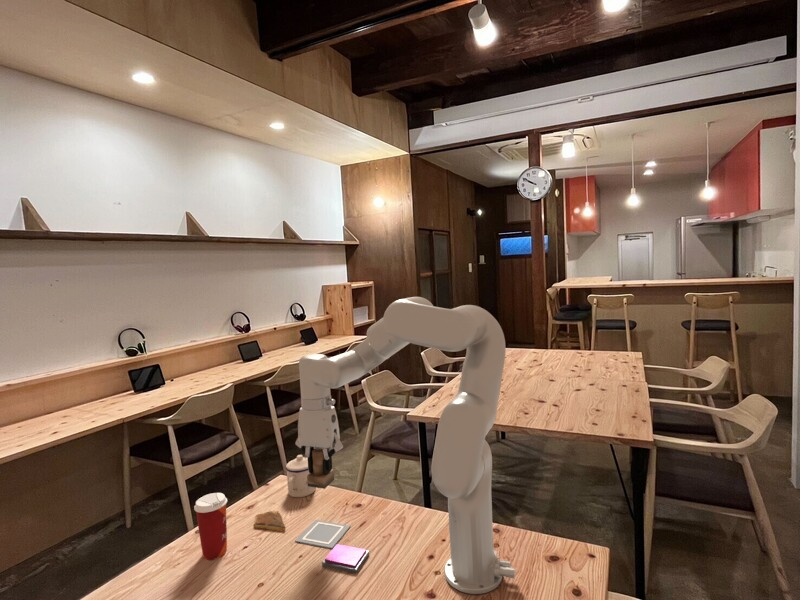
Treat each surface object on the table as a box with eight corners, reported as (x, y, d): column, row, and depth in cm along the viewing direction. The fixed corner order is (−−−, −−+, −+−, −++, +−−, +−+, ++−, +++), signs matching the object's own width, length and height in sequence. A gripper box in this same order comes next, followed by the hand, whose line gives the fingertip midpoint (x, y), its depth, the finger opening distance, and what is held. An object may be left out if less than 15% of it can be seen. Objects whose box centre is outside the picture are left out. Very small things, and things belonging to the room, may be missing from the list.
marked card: (350, 526, 118) (350, 525, 118) (332, 548, 109) (332, 547, 109) (315, 520, 122) (315, 519, 122) (295, 541, 113) (294, 540, 113)
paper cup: (236, 551, 110) (232, 497, 110) (206, 567, 105) (201, 510, 104) (222, 539, 116) (218, 488, 115) (193, 554, 110) (188, 500, 109)
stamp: (334, 479, 115) (332, 447, 114) (324, 488, 110) (322, 454, 110) (317, 477, 117) (315, 445, 116) (307, 486, 112) (305, 453, 111)
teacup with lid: (296, 483, 146) (293, 449, 145) (321, 485, 143) (318, 450, 143) (277, 501, 134) (274, 465, 133) (304, 504, 132) (301, 466, 131)
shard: (286, 533, 118) (285, 526, 118) (256, 542, 114) (256, 535, 114) (279, 514, 128) (278, 508, 127) (251, 522, 124) (251, 516, 124)
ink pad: (369, 554, 106) (368, 548, 106) (356, 573, 99) (355, 567, 99) (336, 548, 109) (336, 542, 109) (322, 566, 102) (321, 560, 102)
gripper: (351, 400, 113) (355, 468, 114) (297, 396, 118) (301, 462, 120) (337, 409, 106) (342, 482, 107) (280, 404, 111) (284, 474, 113)
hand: (320, 470), depth 113 cm, fingers closed on stamp, 3 cm apart
